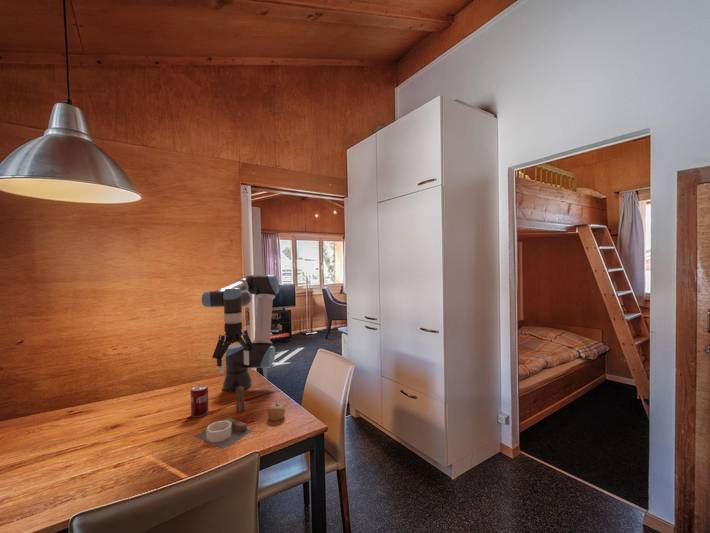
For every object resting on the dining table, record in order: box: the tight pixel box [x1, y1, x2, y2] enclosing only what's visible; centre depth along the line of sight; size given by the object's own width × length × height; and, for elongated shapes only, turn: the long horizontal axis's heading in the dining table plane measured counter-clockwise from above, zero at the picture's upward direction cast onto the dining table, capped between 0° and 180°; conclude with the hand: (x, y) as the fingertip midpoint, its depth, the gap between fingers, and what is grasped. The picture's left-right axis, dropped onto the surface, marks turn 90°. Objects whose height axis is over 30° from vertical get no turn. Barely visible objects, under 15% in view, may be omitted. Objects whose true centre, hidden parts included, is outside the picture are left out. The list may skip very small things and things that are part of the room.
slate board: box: [194, 428, 254, 449], centre depth 126 cm, size 14×18×1 cm
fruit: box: [267, 400, 286, 422], centre depth 138 cm, size 8×7×8 cm
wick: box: [222, 416, 248, 433], centre depth 130 cm, size 12×2×2 cm, turn 59°
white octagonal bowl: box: [205, 420, 232, 442], centre depth 124 cm, size 9×9×4 cm
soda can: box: [189, 384, 209, 418], centre depth 146 cm, size 7×7×12 cm
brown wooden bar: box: [235, 386, 245, 414], centre depth 145 cm, size 2×2×12 cm
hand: (234, 368), depth 144 cm, fingers open, 13 cm apart
